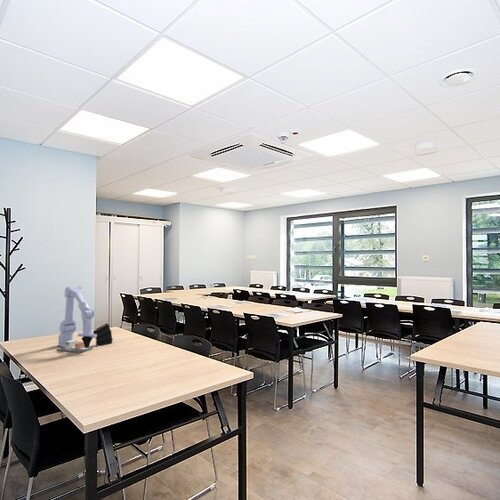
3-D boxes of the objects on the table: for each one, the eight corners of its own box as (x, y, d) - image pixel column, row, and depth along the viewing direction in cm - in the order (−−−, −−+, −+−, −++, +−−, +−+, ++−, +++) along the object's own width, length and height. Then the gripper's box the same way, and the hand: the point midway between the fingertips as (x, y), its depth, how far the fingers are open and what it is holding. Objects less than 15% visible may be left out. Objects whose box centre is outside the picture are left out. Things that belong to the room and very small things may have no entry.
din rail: (56, 350, 243) (56, 346, 243) (70, 346, 254) (70, 342, 254) (79, 353, 236) (79, 348, 237) (93, 349, 248) (93, 344, 248)
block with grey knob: (74, 348, 242) (74, 342, 242) (81, 346, 247) (81, 341, 247) (78, 348, 241) (78, 343, 241) (84, 347, 246) (85, 341, 247)
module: (64, 349, 243) (65, 341, 243) (73, 346, 250) (73, 339, 250) (69, 349, 242) (69, 342, 242) (77, 347, 249) (77, 340, 249)
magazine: (116, 340, 268) (108, 323, 264) (100, 350, 259) (91, 333, 255) (114, 339, 270) (106, 322, 266) (98, 349, 262) (89, 332, 258)
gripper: (74, 327, 241) (74, 348, 241) (91, 329, 236) (91, 349, 236) (82, 326, 248) (82, 345, 247) (99, 327, 243) (98, 347, 243)
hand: (87, 347), depth 242 cm, fingers closed
